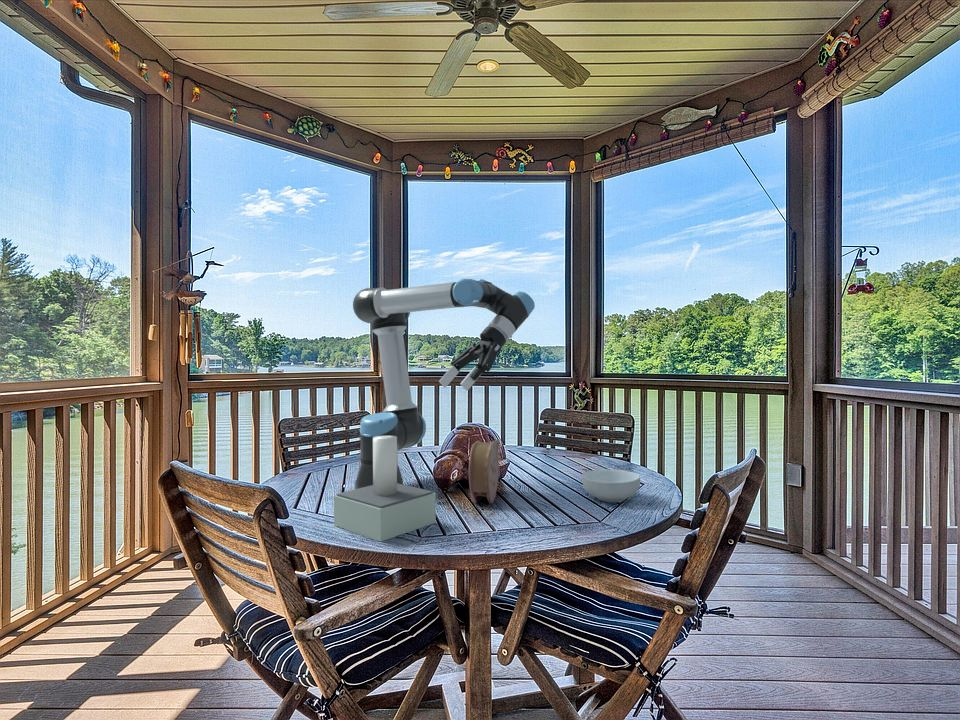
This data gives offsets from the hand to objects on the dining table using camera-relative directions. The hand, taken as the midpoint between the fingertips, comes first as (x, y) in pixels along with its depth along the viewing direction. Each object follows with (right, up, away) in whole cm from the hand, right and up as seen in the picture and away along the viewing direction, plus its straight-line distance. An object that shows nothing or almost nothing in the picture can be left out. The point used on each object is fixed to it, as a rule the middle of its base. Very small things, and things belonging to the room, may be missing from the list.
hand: (452, 386), depth 157 cm
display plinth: (-16, -34, -18) cm, 42 cm away
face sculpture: (+10, -34, +6) cm, 36 cm away
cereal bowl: (+47, -34, +5) cm, 58 cm away
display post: (-16, -26, -18) cm, 36 cm away
